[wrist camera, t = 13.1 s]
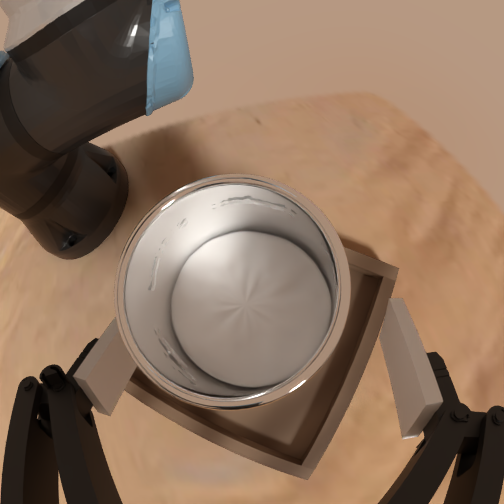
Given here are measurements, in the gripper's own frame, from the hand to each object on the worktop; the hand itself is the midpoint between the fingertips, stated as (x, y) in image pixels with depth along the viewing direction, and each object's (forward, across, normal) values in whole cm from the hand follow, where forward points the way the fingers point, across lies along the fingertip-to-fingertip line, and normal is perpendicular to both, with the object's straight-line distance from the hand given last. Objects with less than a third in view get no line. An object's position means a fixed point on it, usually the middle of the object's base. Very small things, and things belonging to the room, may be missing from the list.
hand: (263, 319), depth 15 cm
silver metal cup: (+5, 0, -5) cm, 7 cm away
